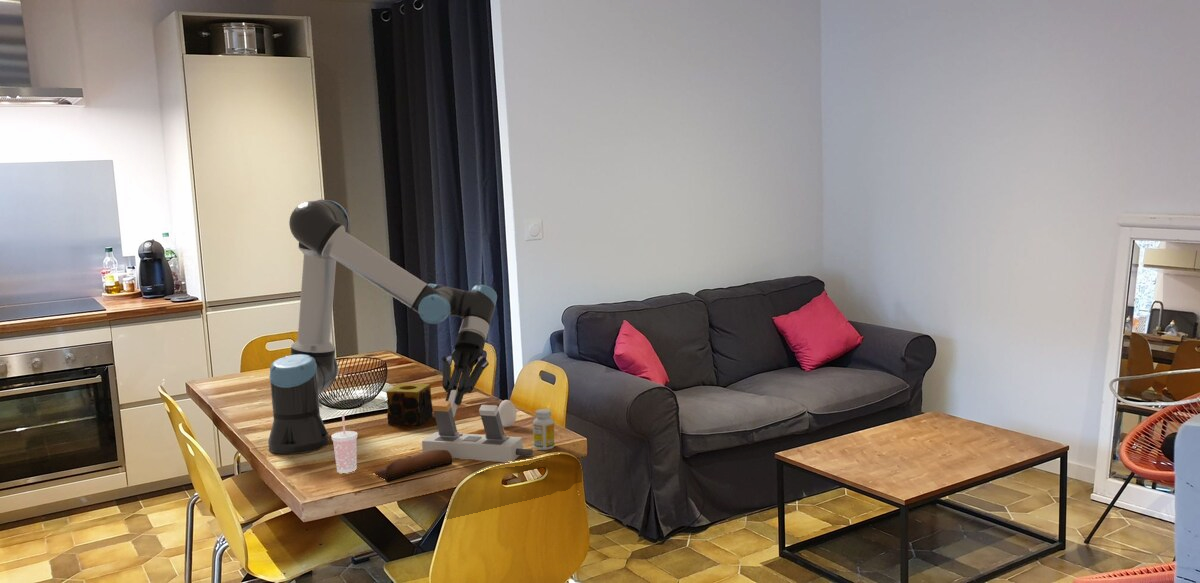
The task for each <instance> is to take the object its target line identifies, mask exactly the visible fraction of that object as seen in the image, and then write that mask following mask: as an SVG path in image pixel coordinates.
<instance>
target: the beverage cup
mask: <svg viewBox="0 0 1200 583" xmlns="http://www.w3.org/2000/svg"><path fill="white" fill-rule="evenodd" d="M341 419H342V420H341V422H342V431H337V432H335V433H333V434H331V441H332V442H333V443H332V444H333V449H334V450H333V451H334V458H335V465H336V472H337V473H338V472H339V473H338V474H342V473H346V474H349V473H348V472H352V471H354V472H355V470H356V469H357V468H358V466H357V464H358V463H357V453H358V452H357V448H358V447H357V445H358V443H357V439H358V432H357V431H353V430H346V423H345V420H346V419H345V413H342V415H341ZM356 471H357V470H356ZM352 473H353V472H352Z"/></svg>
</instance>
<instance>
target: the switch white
mask: <svg viewBox="0 0 1200 583" xmlns="http://www.w3.org/2000/svg"><path fill="white" fill-rule="evenodd" d="M498 407H499V406H498V405H494V404H491V405H490V404H481V405H480V407H479V409H478V412H479V415H480V418H481V422H482V425H483V428H484V429H483V430H484V432H485V434H484V435H485V438H486V439H495V440H506V436H507V434H505V431H504V426H502V423H501V419H500V415H499V410H498Z"/></svg>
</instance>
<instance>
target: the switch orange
mask: <svg viewBox="0 0 1200 583" xmlns="http://www.w3.org/2000/svg"><path fill="white" fill-rule="evenodd" d="M432 408H433V414H434V418H435V422H436V426H437V429H438V431H437V432H438V435H439V436H452V437H458V436H459V433H460V431H458V428H457V425H456V421H455V416H453V412H452V408H451V403H450V401H446V400H434V401H433V402H432Z"/></svg>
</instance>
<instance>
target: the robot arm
mask: <svg viewBox="0 0 1200 583" xmlns="http://www.w3.org/2000/svg"><path fill="white" fill-rule="evenodd" d="M288 223H289V224H288V225H289V229H290V233H291V234H292V237H293V238H294V239H296V241H298V249H299V251H301V252H302V253H303V259H302V260H303V261H302V262H303V264H302V275H301V288H300V289H301V292H300V300H299V301H300V302H299V315H298V316H299V318H298V328H297V329H298V330H297V331H298V332H297V340H296V341H294V343H291V347H290V348H291V349H290V355H286V356H284V357H280V358H278V359H275V360H274V361H273V362H272V363H271V365H270V367H269V382H270V392H271V403H272V415H273V420H272V421H273V422H272V426H271V429H270V431H269V432H270V434H269V438H268V442H267V443H268V450H269V451H270V452H271V453H274V454H278V455H295V454H304V453H309V452H312V451H313V452H314V451H316V450H319V449H322V448H324V447H326V446H327V445H328V444H329V434H328V430H327V428H326V426H325V423H324V422H323V419H322V417H321V413H320V399H319V395H320V394H322V393H323V392H324V391H326V390H327V389H329V388H330V387H331V386H332V384H333V383H334V382H335V380H336V378H337V376H338V371H339V367H338V366H339V365H338V361H337V359H336V357H335V353H336V347H335V345H334V344H333V343H332V342H331V332H332V319H333V308H334V307H333V305H334V297H335V296H334V295H335V282H336V269H337V268H336V267H337V262H338V263H340V265H342V266H343V267H345V268H347V269H349V270H350V271H352V272H353V273H355V274H356V275H358V276H359V277H361V278H363V279H364V280H366V281H368V282H370V283H371V284H372V285H374V286H376V287H377V288H379V289H380V290H382V291H383V292H385V293H386V294H388V295H390V296H391V297H393V298H394V299H395V300H398V301H399V302H401V303H402V304H403V305H406V306H407V307H408V308H410V309H411V310H413V311H414V312H416V313H418V315H419V317H420V319H421V320H422V321H423V322H425V323H427V324H431V325H436V324H440V323H442V322H444V321H445V320H446V319H447V318H448V317H449V316H453V317H458V318H462V321H461V325H460V327H459V331H458V335H457V337H456V341H455V344H454V349H453V351H451V354H450V355H449V356H447V357H446V356H442V357H441V361H442V364H443V368H442V385H441V387H442V388H443V390H444V391H445V393H447V394H446V397H445V401H450V403H451V408H452V412H453V416H454V417H455V416H456V412H457V410H458V406H461V404H462V402H463V398H464V396H465V394H467V393H468V394H471V393H472V392H473V390H474V388H475V387H476V385H477V383H478V381H479V379H480V378H481V376H482V374H483V372H484V370H485V369H486V368H487V367H488V366H489V364H490V363H489V361H488V360H487V358H486V356H485V357H484V356H483V352H484V348H485V345H486V340H487V336H488V333H489V330H490V326H491V323H492V319H493V317H494V313H495V310H496V305H497V299H498V295H497V291H495V289H493V287H491V286H489V285H485V284H476V285H474V286H473V287H472V288H471V289H470V290H462V289H459V288H454V287H452V286H451V287H450V286H446V285H443V284H440V283H439V284H436V283H426V282H425V281H423V280H421V279H420V278H418V277H417V276H415V275H413V274H412V273H410V272H409V271H407V270H406V269H404V268H403V267H401V266H399V265H397V263H395V262H394V261H392V260H390V259H389V258H387V257H385V256H384V255H383V254H381V253H379V252H377V251H376V250H375V249H374V248H371V247H370V246H369V245H367V244H365V243H364V242H362V241H360V240H359V239H357V238H356V237H355V236H353V235H351V234H350V233H349V232H348V231H349V228H350V217H349V214H348V212H347V211H346V209H345V208H344V207H343V206H342V205H341V204H339V203H338V202H336V201H334V200H329V199H317V200H311V201H306V202H303V203H300V204H298V205H297V206H296V207H295V208H294V209H293V211H292V212H291V214H290V217H289V222H288ZM453 363H454V365H453V370H452V367H451V366H452V364H453Z"/></svg>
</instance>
